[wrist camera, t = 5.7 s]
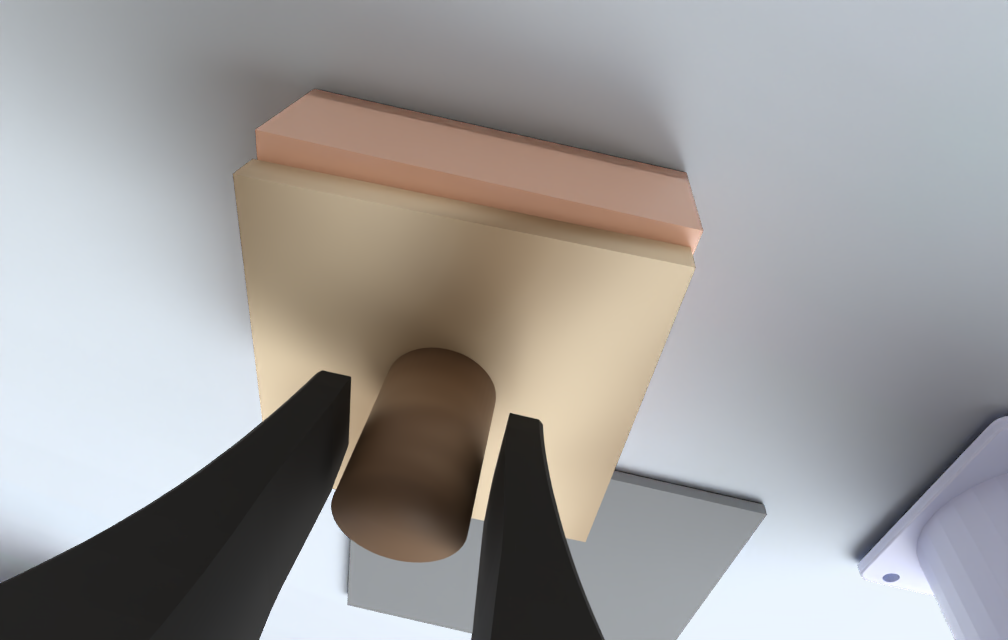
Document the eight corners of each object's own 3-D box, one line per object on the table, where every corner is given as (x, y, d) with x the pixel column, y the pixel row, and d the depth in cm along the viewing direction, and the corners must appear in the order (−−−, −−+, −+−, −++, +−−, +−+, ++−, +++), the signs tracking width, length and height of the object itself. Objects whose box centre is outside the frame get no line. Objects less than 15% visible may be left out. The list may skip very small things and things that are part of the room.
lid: (690, 247, 12) (726, 396, 9) (586, 517, 17) (581, 679, 14) (252, 158, 12) (108, 269, 9) (281, 453, 18) (199, 596, 14)
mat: (764, 504, 20) (766, 514, 20) (650, 665, 28) (651, 674, 27) (360, 412, 20) (356, 421, 20) (350, 596, 28) (347, 604, 27)
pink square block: (686, 173, 14) (703, 230, 12) (587, 431, 20) (585, 508, 17) (314, 88, 14) (255, 129, 12) (316, 370, 20) (276, 437, 17)
